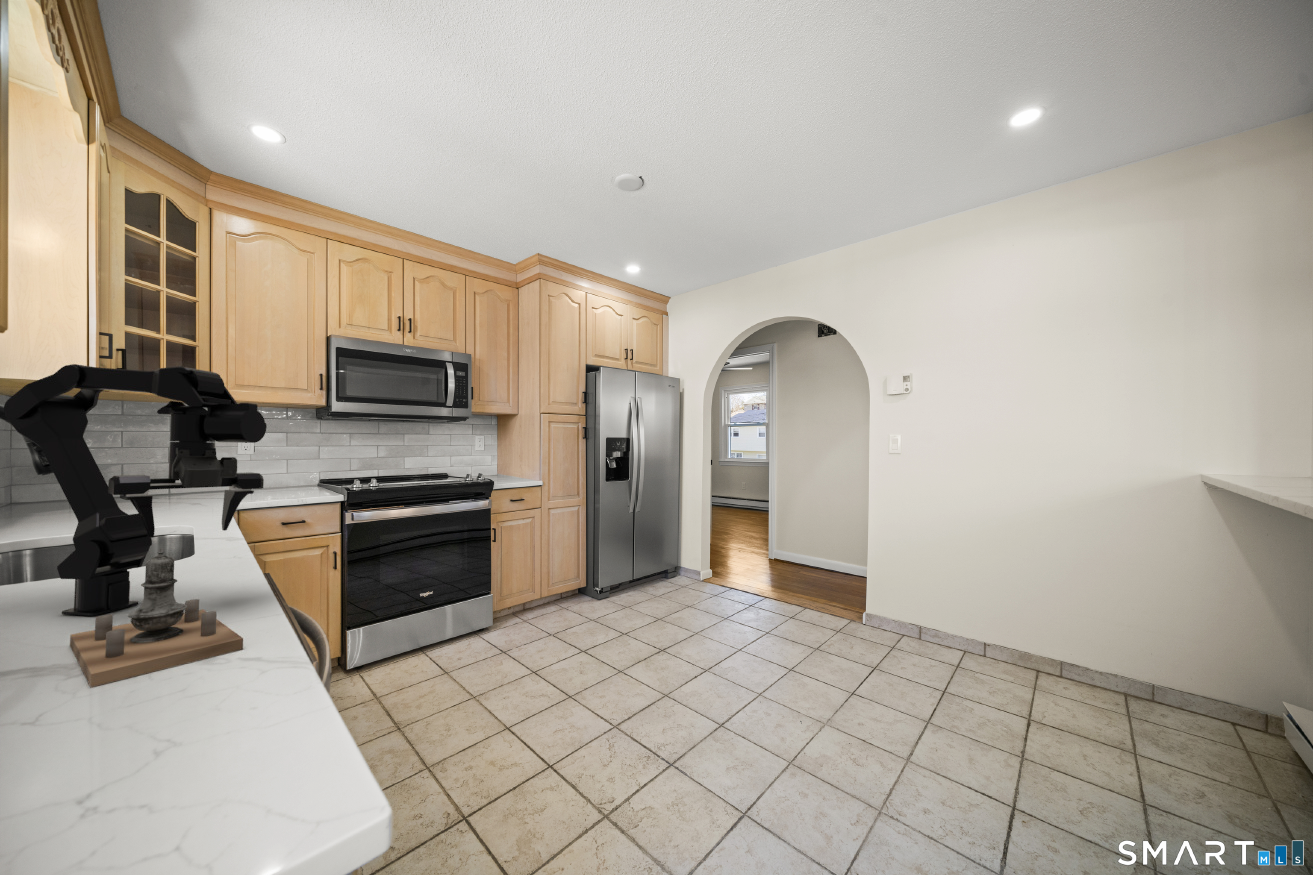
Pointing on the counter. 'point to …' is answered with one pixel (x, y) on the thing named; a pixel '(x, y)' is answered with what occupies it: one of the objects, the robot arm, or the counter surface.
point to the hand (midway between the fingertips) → (189, 533)
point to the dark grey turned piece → (158, 603)
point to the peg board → (150, 646)
